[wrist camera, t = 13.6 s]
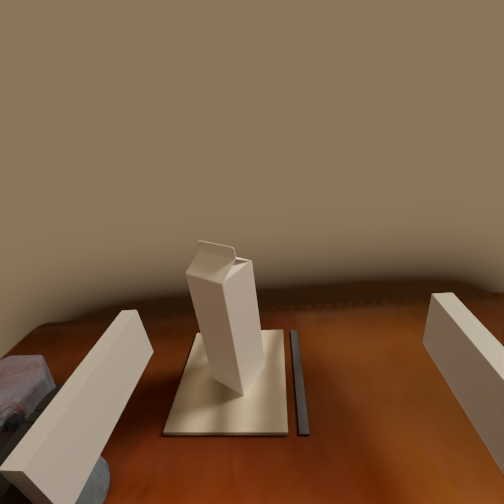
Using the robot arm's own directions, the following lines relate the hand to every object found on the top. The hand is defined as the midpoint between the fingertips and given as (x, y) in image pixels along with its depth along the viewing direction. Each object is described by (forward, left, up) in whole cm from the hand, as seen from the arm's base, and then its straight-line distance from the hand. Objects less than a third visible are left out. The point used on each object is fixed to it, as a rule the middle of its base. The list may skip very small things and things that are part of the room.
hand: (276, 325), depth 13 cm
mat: (+7, -20, -27) cm, 34 cm away
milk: (+7, -20, -27) cm, 34 cm away
